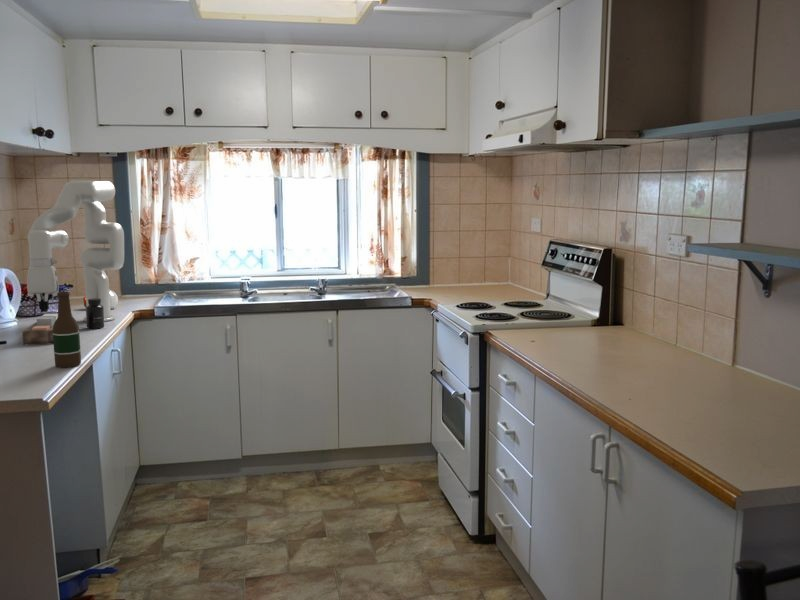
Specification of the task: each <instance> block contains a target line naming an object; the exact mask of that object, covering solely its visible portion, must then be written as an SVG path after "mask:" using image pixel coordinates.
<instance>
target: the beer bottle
mask: <svg viewBox="0 0 800 600" xmlns="http://www.w3.org/2000/svg"><path fill="white" fill-rule="evenodd" d="M70 295H71V293H70V292H69V291H66V290H65V291H58V294H57V296H56V297H57V303H58V304H57V307H58V308H57V314H58V318H57V319H56V321H55V323H54V326H53V355H54V357H53V358H54V365H55V367H56V368H59V367H61V368H60V369H66V368H65V367H71V368H75V367H79V366H80V365H81V364H82V355H81V354H82V353H81V339H80V327H79V324H78V321H77V320H76V318H75V317H74V316H73V314H72V310H71V309H72V307H71V300H70ZM62 367H63V368H62Z"/></svg>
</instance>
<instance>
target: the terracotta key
mask: <svg viewBox="0 0 800 600" xmlns="http://www.w3.org/2000/svg"><path fill="white" fill-rule="evenodd" d="M49 329H50V325H47V326H35V327H33V328H32V331H37V330H49Z"/></svg>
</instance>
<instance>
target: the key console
mask: <svg viewBox="0 0 800 600" xmlns="http://www.w3.org/2000/svg"><path fill="white" fill-rule="evenodd" d="M35 326H37V321H36V322H34V323H32V324H31V325H30V326H28V327H26V328H25V329H24V330H22V331H21V332H22V345H23V346H24V345H25V344H28V345H44V344H45V345H47V344H46V343H53V327H50V329H49V330H37V331H32V328H33V327H35ZM53 344H54V343H53Z"/></svg>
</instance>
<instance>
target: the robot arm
mask: <svg viewBox="0 0 800 600" xmlns="http://www.w3.org/2000/svg"><path fill="white" fill-rule="evenodd" d="M115 195H116V187H115V185H114V184H113V183H112V182H111V181H110V180H109V181H108V180H71V181H68V182H66V183H65V184H64V186H63V188H62V189H61V192H60V194H59V196H58V198H57V200H56V202H55V204H54V206H52V207H51V208H49V209H48V210H46V211H45V212H43V213H42V214H41V215H39V216H38V217H36V218H35V220H34V221H33V223H32V225H31V227H30V229H29V231H28V234H27V242H28V247H29V248H28V249H29V267H28V269H27V275H26V276H27V280H26V289H27V297H31V298H35V300H36V301H37V302H38V309H39V310H40V312H41V313H46V312H48V310H49V309H50V307H49V305H50V304H49V303H50V302H49V301H50V300H51V299H52V298H54V297H58V296H57V294H58V292H59V288H60V287H59V279H58V273H57V269H56V266H54V265H55V264H57V262H58V261H57V260H56V259H54V258H53V250H54V249H56V250H59V249H64V248H65V247H66V246H67V245H68V244H69V240H70V237H69V234H68V233H67V232H66V231H65V230H63V229H60V228H59V229H58V228H56V229H55V228H54V227H55V226H58V225H61V224H65V223H67V222H69V221H71V220H73V219H75V218H76V216H77V214H78V212H79V210H80V208H81V207H82V209H83V213H84V237H85V238H84V239H85V241H86V242H87V243H88V244H91V245H109V247H97V246H95V247H87V248H85V249H84V250H83V251H82V252H81V255H80V260H81V265H82V269H83V276H84V285H85V286H84V287H85V289H84V290H85V297H86V305H87V306H88V305H89V304H88V299H93V298H99V299H101V303H100V305H102V306H103V307H104V322H109V321H112V320H115V319H116V318H115V317H116V316H115V315H113V314H111V311H112V310H111V309H110V293H109V290H110V279H109V277H108V275H107V274H106V272H105V271H110V270H111V271H116V270H120V269H122V268H123V267H124V263H125V232H124V228H123V226H122V224H120V223H117V222H113V221H111V222H110V221H109V222H107V211H106V208H105V206H104V204H102V203H104V202H110V201H112V200H113V199H114V197H115ZM43 294H44V296H43ZM43 297H44V299H43ZM83 322H86V316H84V317H83Z"/></svg>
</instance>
